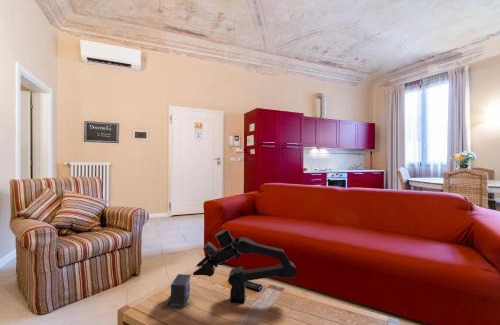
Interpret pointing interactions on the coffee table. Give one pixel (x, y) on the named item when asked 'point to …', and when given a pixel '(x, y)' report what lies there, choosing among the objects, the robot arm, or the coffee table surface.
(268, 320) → the coffee table surface
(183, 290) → the small box
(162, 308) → the stop rail
